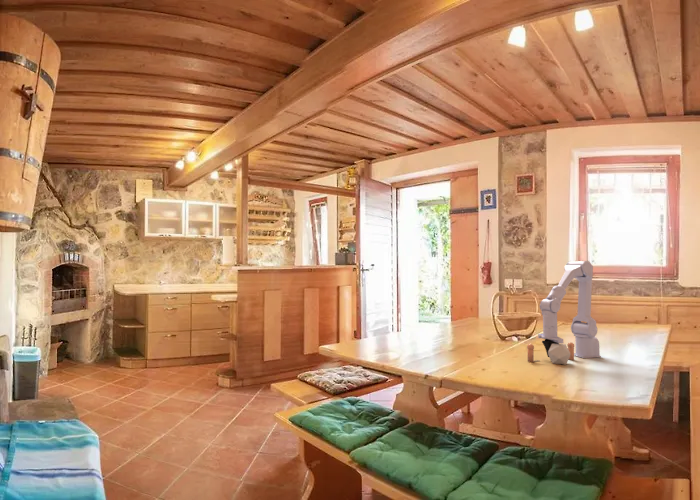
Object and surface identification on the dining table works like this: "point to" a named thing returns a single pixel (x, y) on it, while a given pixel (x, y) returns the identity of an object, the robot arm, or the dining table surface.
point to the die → (559, 353)
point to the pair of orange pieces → (531, 359)
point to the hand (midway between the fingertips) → (550, 357)
